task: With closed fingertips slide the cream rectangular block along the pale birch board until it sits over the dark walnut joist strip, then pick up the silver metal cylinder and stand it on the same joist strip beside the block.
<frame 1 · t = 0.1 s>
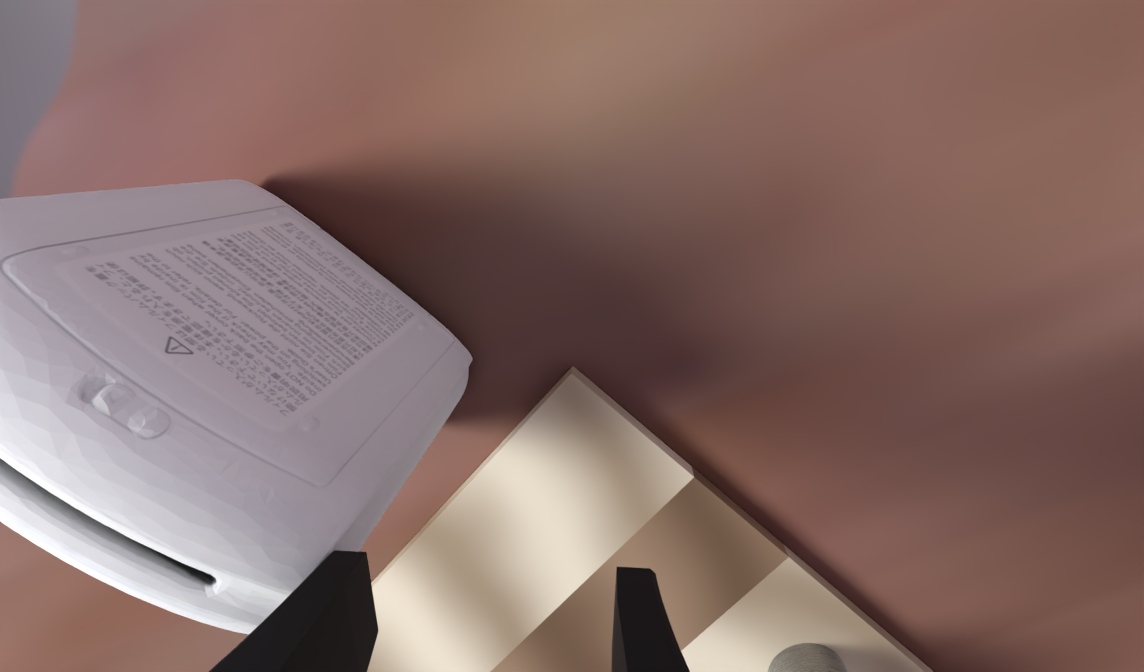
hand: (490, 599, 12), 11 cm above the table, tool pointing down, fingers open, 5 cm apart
photo printer: (340, 304, 23), on the table, touching gripper
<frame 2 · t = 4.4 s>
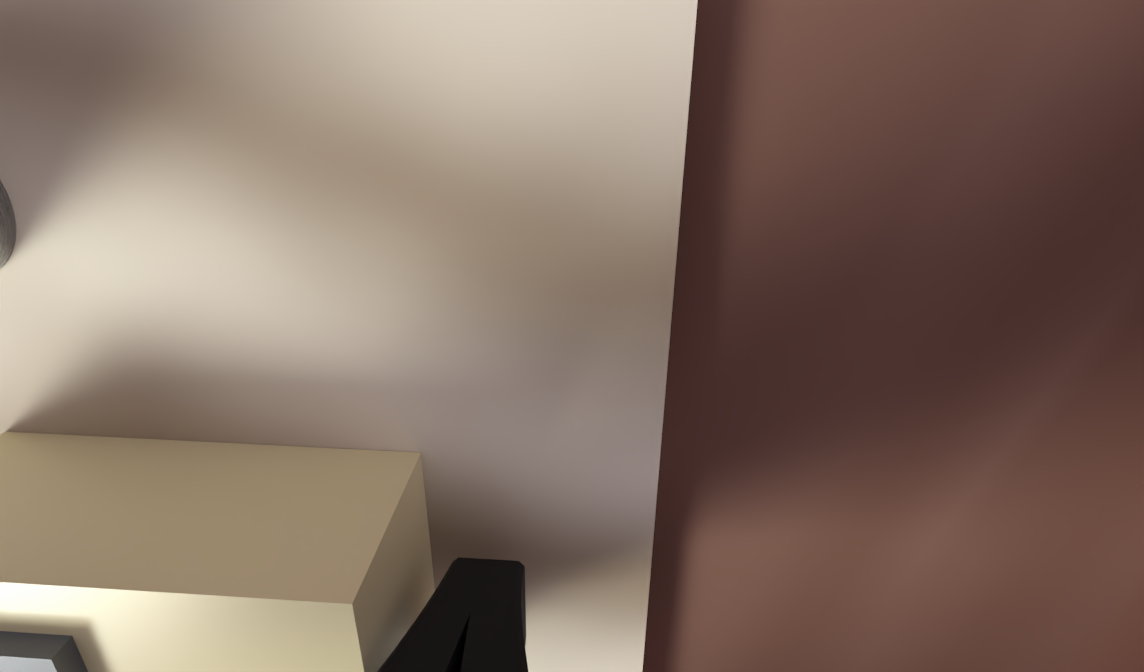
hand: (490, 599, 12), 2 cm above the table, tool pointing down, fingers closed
subfloor board: (34, 470, 14), on the table
cream rectangular block: (237, 544, 13), point 1 cm above the table, touching subfloor board
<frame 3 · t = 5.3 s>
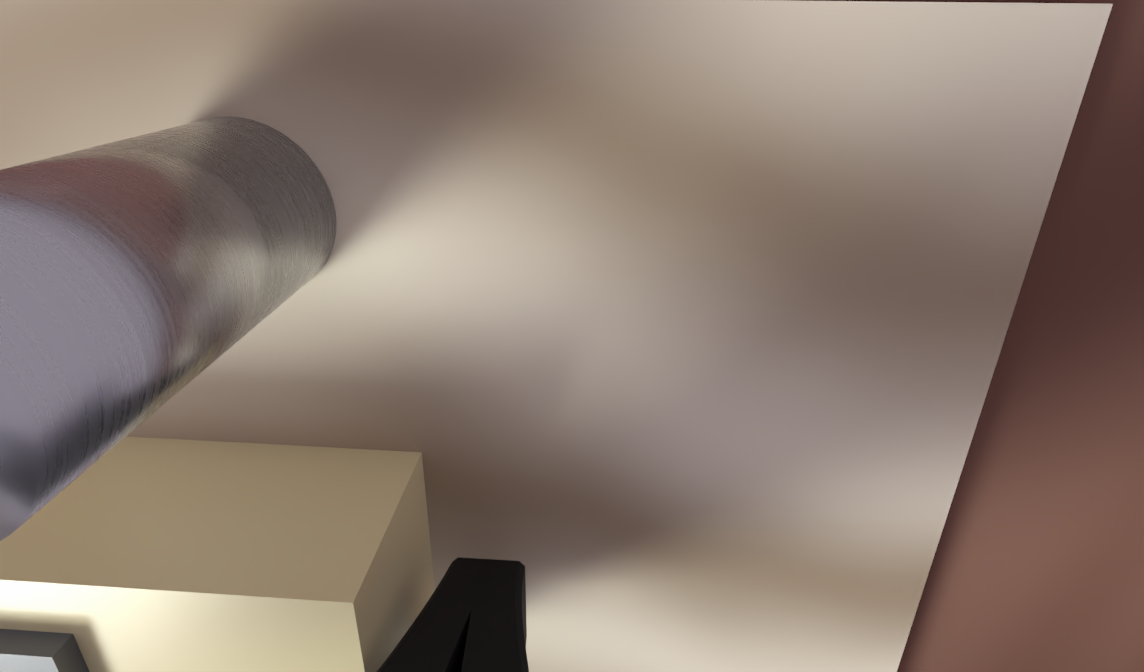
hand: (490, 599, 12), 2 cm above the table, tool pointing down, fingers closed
silver metal cylinder: (248, 209, 10), point 1 cm above the table, touching subfloor board
subfloor board: (278, 482, 14), on the table
cream rectangular block: (237, 543, 14), point 1 cm above the table, touching gripper, subfloor board
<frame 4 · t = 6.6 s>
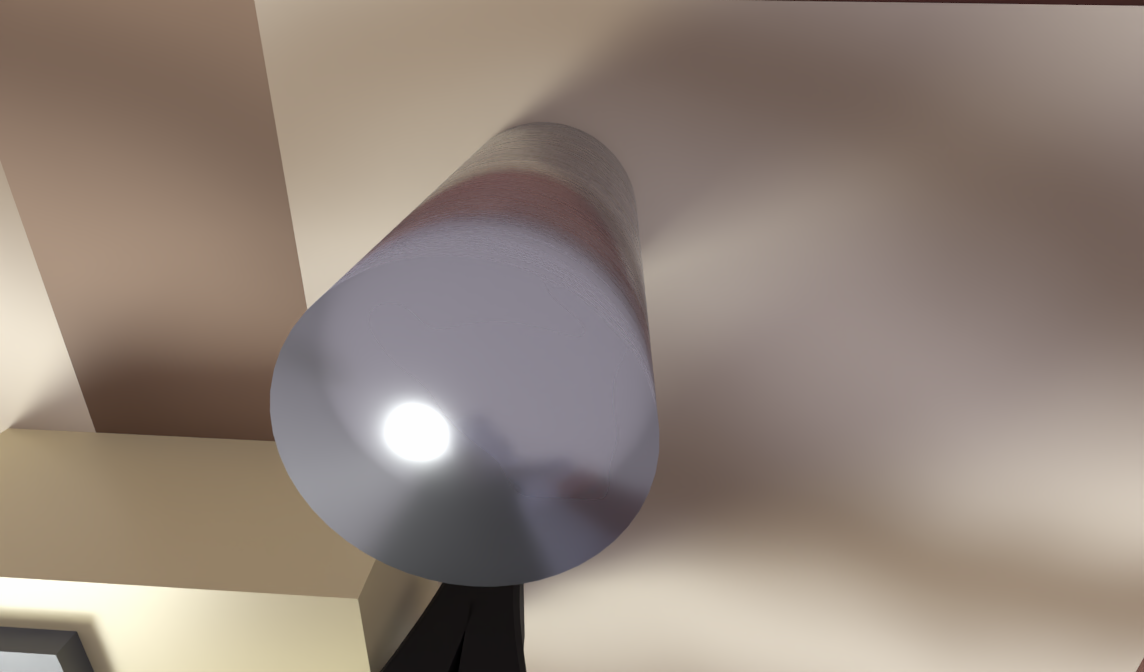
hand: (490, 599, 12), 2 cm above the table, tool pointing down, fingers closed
silver metal cylinder: (545, 217, 10), point 1 cm above the table, touching subfloor board
subfloor board: (501, 493, 14), on the table
cream rectangular block: (240, 541, 13), point 1 cm above the table, touching gripper, subfloor board
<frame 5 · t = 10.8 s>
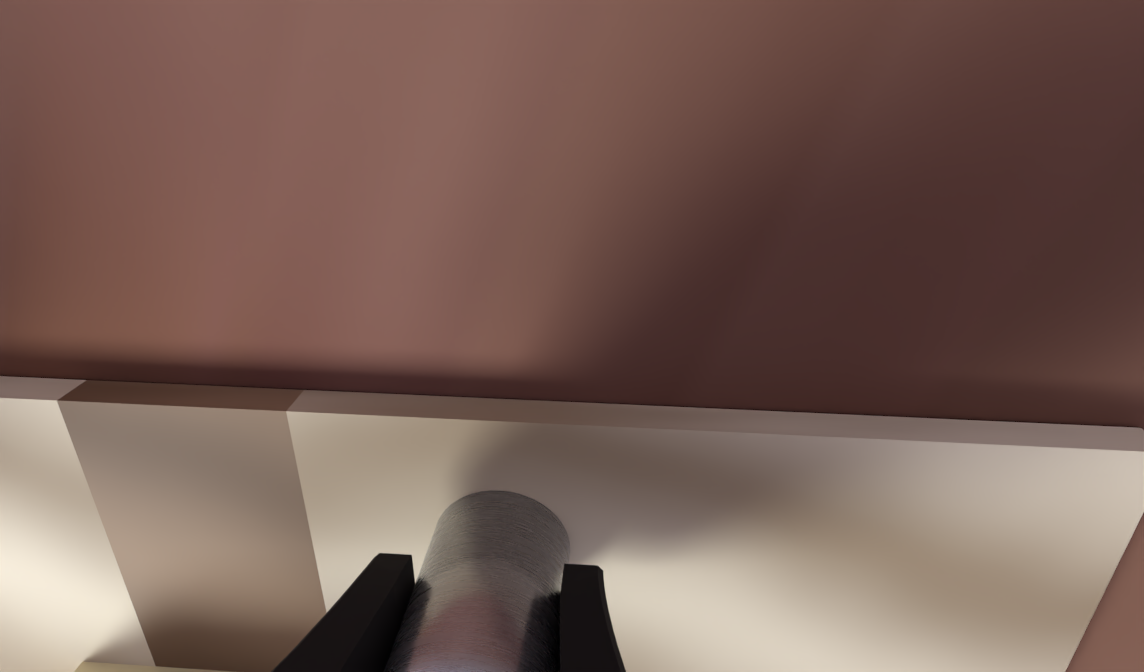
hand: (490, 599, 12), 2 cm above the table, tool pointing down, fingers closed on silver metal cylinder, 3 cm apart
silver metal cylinder: (501, 545, 14), point 1 cm above the table, touching gripper, subfloor board
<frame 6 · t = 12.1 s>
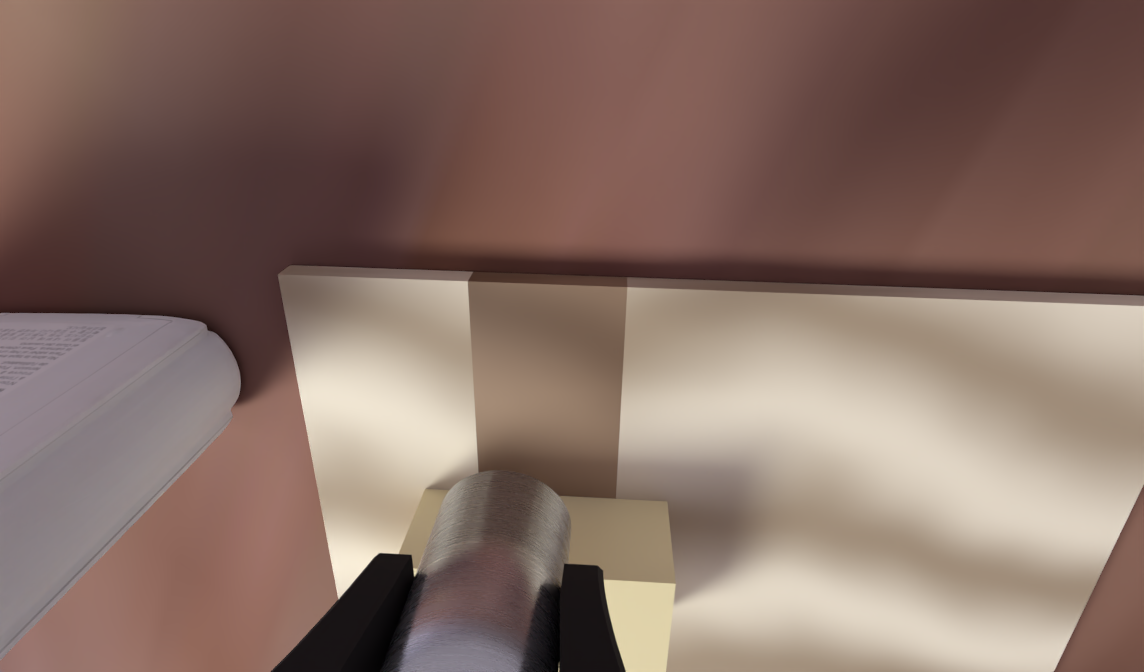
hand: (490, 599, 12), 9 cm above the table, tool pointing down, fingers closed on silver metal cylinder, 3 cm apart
silver metal cylinder: (505, 524, 14), point 7 cm above the table, touching gripper
subfloor board: (700, 524, 23), on the table
photo printer: (97, 361, 22), on the table
cream rectangular block: (545, 552, 23), point 1 cm above the table, touching subfloor board
when the fingers open (3 cm above the table, at t = 13.4 s): silver metal cylinder stays where it is, resting on subfloor board.
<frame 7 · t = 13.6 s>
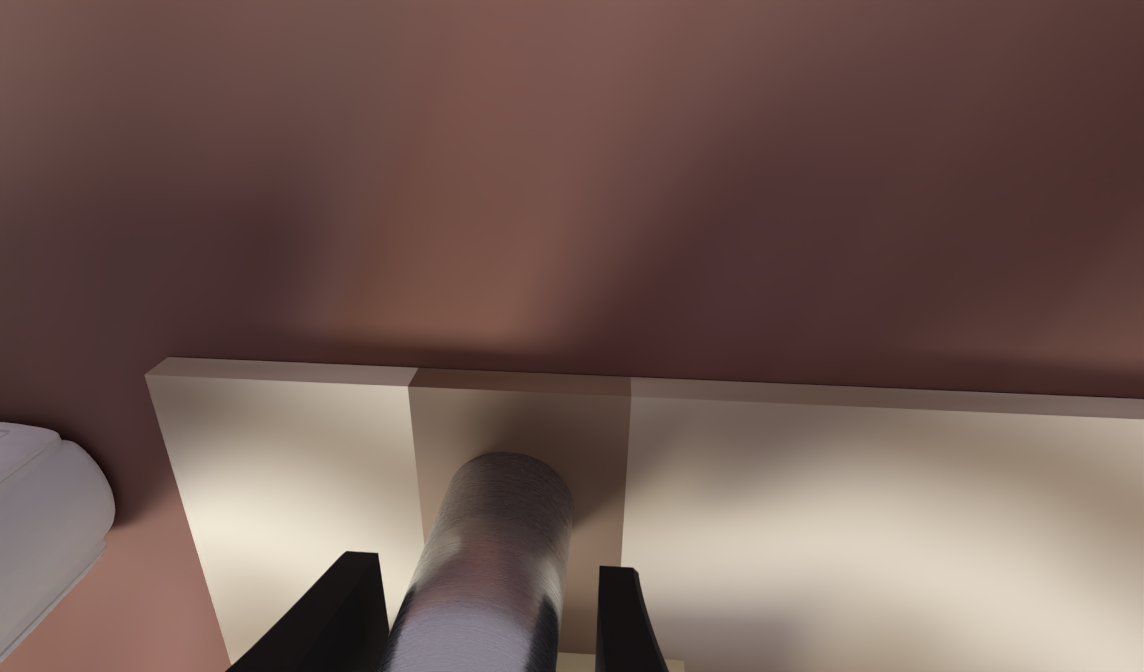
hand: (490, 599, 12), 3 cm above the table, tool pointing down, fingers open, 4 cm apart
silver metal cylinder: (509, 505, 15), point 1 cm above the table, touching subfloor board
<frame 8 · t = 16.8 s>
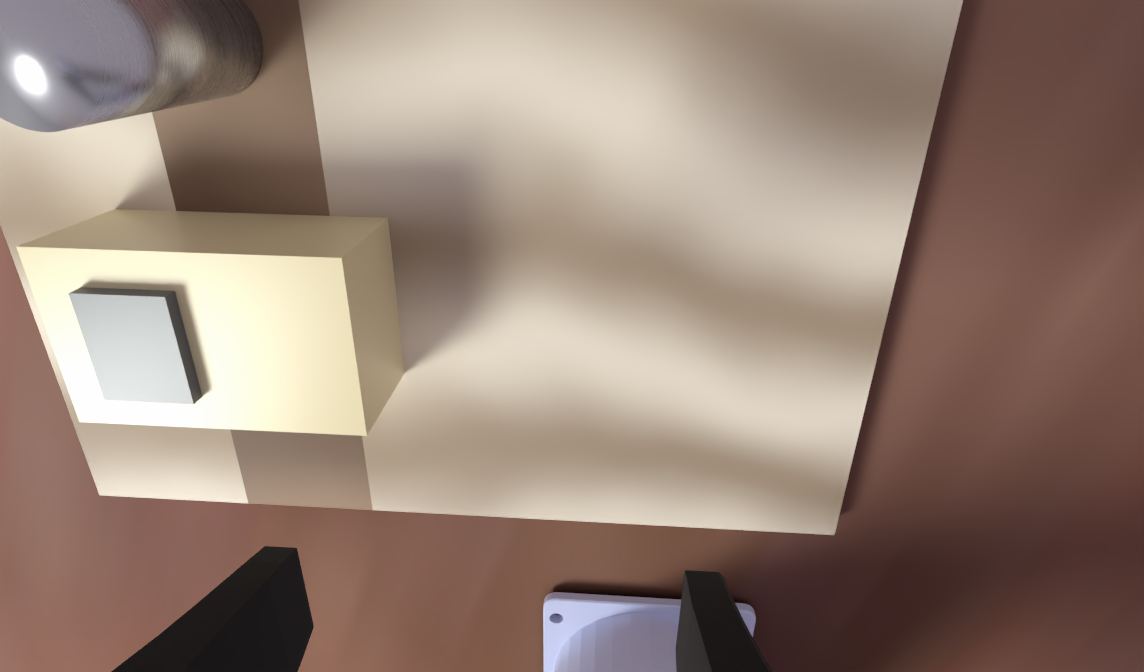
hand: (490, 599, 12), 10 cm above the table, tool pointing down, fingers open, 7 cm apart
silver metal cylinder: (209, 39, 17), point 1 cm above the table, touching subfloor board
subfloor board: (444, 263, 20), on the table
cream rectangular block: (266, 294, 20), point 1 cm above the table, touching subfloor board
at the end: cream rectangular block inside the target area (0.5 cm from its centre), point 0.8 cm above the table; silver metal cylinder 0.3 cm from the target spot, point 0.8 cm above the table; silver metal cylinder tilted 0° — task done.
